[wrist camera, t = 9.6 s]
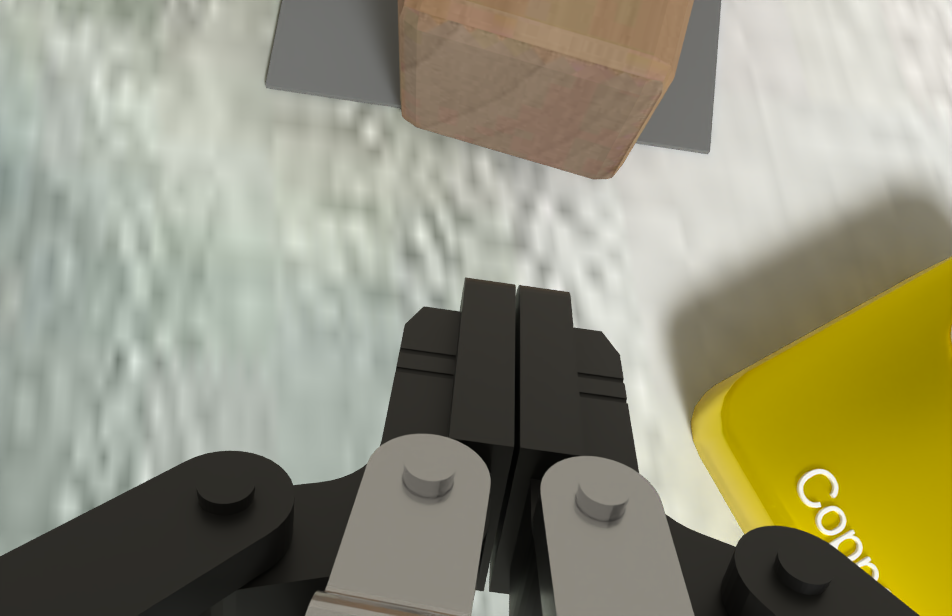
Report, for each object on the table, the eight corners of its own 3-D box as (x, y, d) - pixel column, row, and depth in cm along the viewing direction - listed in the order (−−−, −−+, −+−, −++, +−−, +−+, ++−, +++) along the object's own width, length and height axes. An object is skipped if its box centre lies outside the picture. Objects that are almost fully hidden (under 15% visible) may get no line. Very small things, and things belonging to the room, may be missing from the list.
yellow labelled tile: (669, 410, 39) (704, 395, 34) (946, 256, 41) (1015, 222, 37) (860, 741, 36) (926, 774, 32) (1143, 556, 39) (1243, 561, 34)
